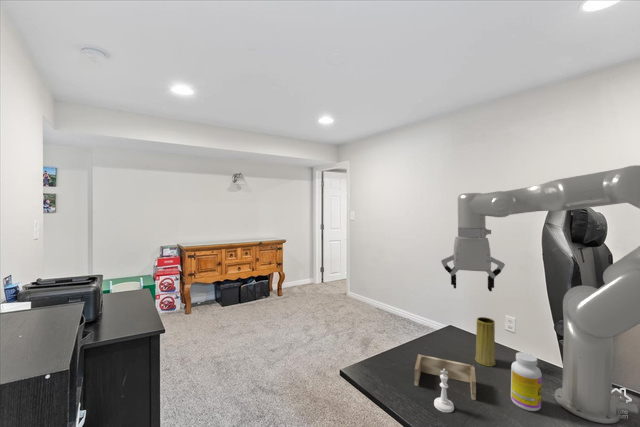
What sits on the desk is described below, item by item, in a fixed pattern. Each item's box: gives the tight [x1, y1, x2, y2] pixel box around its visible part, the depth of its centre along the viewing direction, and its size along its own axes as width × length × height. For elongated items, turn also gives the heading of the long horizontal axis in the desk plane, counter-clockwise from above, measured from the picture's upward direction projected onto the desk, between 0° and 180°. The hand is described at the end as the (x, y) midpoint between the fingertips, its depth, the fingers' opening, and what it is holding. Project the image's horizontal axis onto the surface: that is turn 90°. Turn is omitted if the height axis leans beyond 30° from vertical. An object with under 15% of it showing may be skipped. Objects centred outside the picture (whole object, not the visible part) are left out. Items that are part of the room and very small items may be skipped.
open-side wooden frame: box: [414, 353, 477, 401], centre depth 87 cm, size 16×9×5 cm, turn 65°
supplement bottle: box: [510, 351, 543, 412], centre depth 78 cm, size 7×7×13 cm
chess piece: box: [433, 369, 455, 413], centre depth 78 cm, size 5×5×10 cm
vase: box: [474, 316, 497, 367], centre depth 99 cm, size 6×6×14 cm
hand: (471, 288), depth 91 cm, fingers open, 9 cm apart
